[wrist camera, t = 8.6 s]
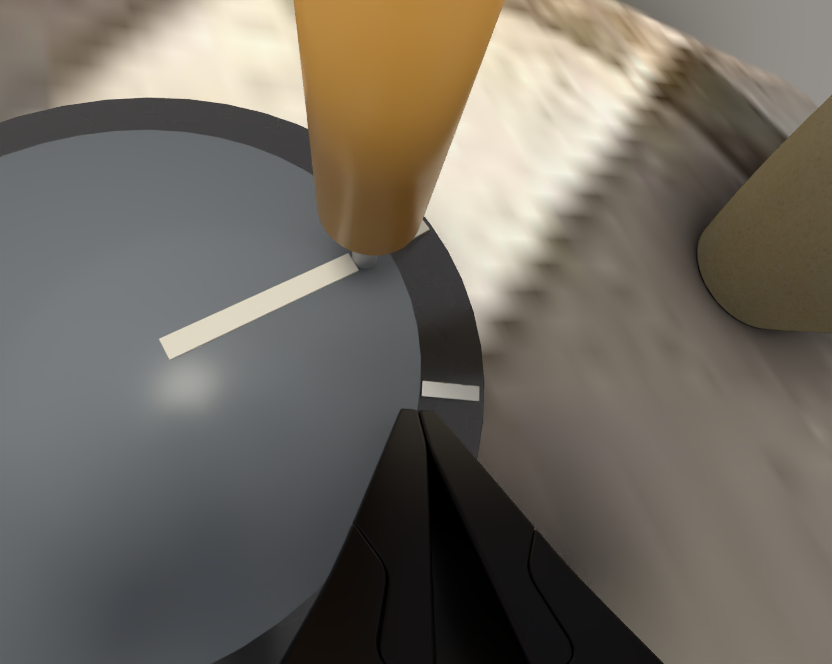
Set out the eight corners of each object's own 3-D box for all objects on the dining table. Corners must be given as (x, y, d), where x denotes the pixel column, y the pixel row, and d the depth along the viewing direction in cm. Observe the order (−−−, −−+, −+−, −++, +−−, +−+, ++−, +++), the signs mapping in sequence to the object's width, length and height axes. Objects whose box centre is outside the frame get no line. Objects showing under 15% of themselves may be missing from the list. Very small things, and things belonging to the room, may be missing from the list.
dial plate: (147, 979, 10) (109, 1085, 8) (-459, 413, 10) (-604, 409, 9) (562, 347, 18) (584, 338, 16) (205, 49, 18) (193, 12, 17)
